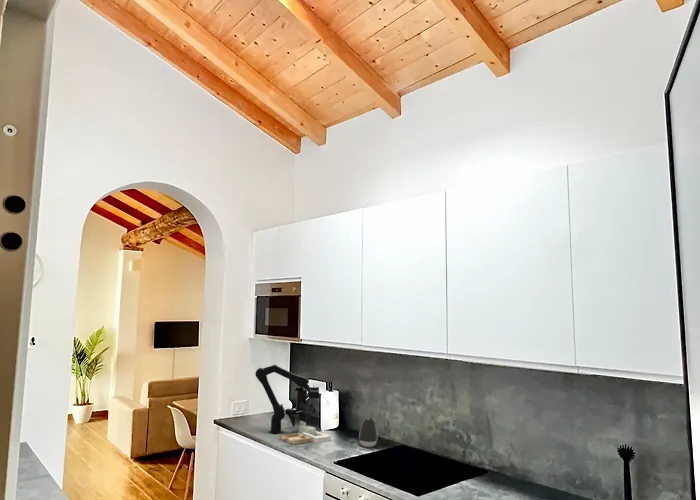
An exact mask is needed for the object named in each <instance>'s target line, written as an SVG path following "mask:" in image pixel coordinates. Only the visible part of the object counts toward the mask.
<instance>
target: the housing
mask: <svg viewBox="0 0 700 500" xmlns="http://www.w3.org/2000/svg"><path fill="white" fill-rule="evenodd" d="M302 435H304V436H307V437H310V438H312V442H311V443H316V444H318V443H325V442H331V441H332V440H331V439H332V436H331V435H328V434H326V433H323V432H320V431H317V430H316V435H315V436H313V435H310V434H308V433H302Z"/></svg>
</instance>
